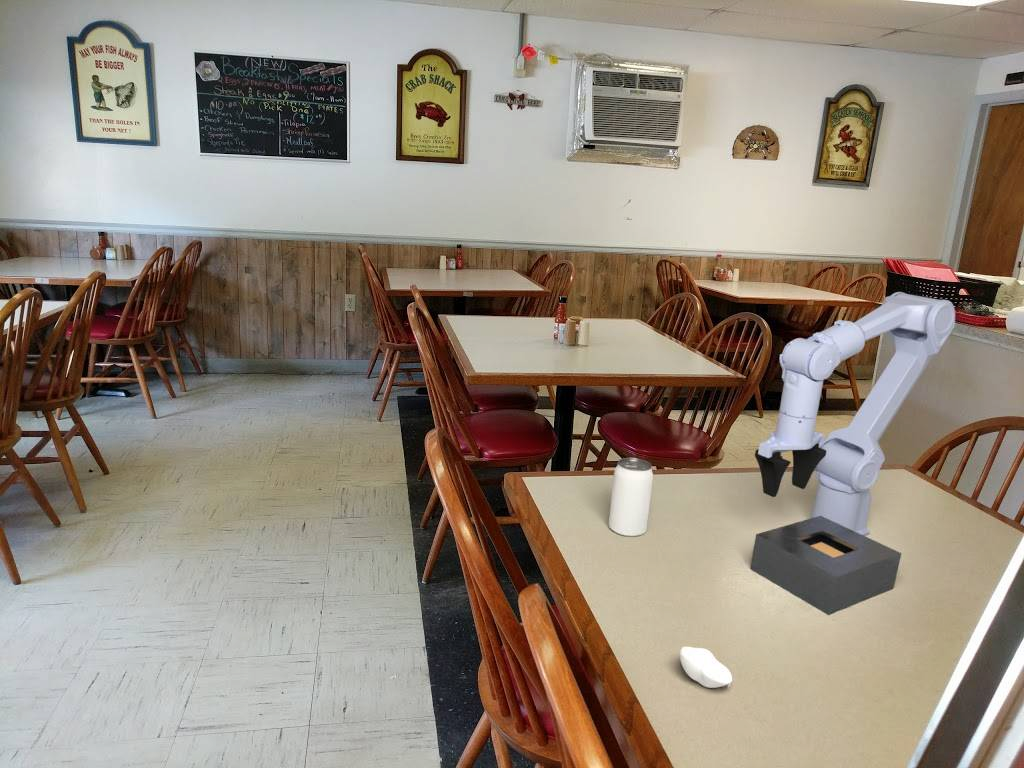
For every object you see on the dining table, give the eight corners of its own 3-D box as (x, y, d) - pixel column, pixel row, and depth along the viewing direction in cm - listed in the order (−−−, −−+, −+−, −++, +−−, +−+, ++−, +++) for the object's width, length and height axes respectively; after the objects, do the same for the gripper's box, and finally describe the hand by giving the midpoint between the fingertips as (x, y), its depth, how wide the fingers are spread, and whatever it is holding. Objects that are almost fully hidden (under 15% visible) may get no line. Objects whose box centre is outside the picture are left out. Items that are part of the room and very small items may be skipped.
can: (645, 540, 121) (654, 473, 118) (606, 534, 122) (614, 468, 119) (646, 523, 127) (654, 459, 124) (609, 518, 128) (616, 454, 125)
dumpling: (665, 675, 87) (670, 647, 86) (689, 658, 91) (693, 630, 90) (717, 706, 83) (722, 676, 81) (740, 687, 86) (745, 658, 85)
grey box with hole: (814, 548, 122) (820, 515, 120) (893, 588, 111) (901, 553, 109) (750, 568, 114) (756, 534, 112) (828, 615, 102) (836, 577, 101)
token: (816, 564, 115) (821, 542, 114) (842, 578, 112) (847, 554, 110) (798, 571, 113) (803, 547, 112) (824, 584, 109) (828, 561, 108)
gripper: (804, 401, 124) (791, 475, 128) (748, 411, 117) (736, 489, 120) (841, 413, 119) (826, 489, 122) (785, 424, 111) (771, 505, 115)
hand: (784, 490), depth 121 cm, fingers open, 7 cm apart
